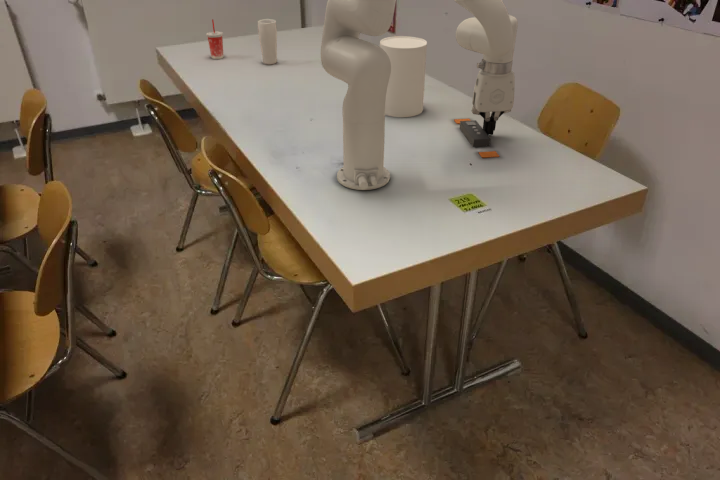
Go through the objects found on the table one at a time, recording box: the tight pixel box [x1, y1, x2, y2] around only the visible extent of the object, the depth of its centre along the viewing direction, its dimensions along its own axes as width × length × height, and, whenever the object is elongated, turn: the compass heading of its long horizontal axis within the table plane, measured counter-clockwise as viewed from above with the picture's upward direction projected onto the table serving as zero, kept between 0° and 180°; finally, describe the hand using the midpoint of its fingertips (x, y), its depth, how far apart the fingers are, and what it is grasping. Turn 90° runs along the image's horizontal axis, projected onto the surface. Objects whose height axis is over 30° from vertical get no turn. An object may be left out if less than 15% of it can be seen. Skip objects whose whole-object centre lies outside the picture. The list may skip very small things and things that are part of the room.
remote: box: [459, 120, 492, 148], centre depth 157 cm, size 13×5×2 cm, turn 8°
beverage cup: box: [205, 18, 225, 60], centre depth 217 cm, size 6×6×14 cm
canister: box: [379, 35, 428, 118], centre depth 170 cm, size 14×14×20 cm
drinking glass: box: [257, 18, 278, 65], centre depth 211 cm, size 7×7×15 cm
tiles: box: [453, 118, 500, 159], centre depth 157 cm, size 26×5×1 cm, turn 8°
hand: (488, 133), depth 157 cm, fingers closed
